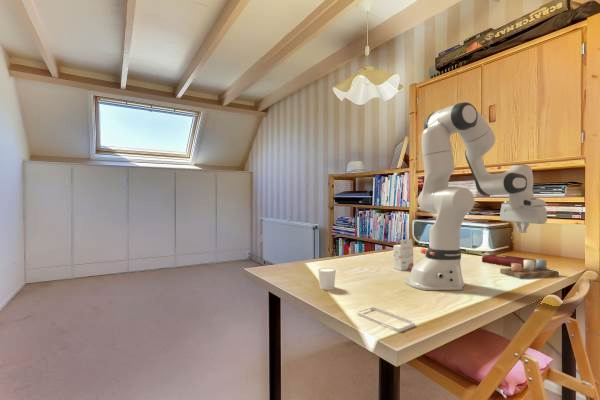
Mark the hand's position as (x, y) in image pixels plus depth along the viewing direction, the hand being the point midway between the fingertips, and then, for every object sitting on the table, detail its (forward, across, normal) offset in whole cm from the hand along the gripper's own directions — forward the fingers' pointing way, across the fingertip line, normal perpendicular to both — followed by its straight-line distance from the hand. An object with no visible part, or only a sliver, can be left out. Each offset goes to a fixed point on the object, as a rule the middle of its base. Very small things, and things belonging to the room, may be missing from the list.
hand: (521, 232), depth 134 cm
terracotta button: (+18, 0, -3) cm, 19 cm away
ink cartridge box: (+18, -22, -45) cm, 54 cm away
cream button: (+17, 0, +3) cm, 17 cm away
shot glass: (+18, +1, -90) cm, 92 cm away
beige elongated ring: (+18, +34, -82) cm, 91 cm away
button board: (+19, 0, +3) cm, 19 cm away
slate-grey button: (+17, 0, +10) cm, 20 cm away
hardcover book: (+20, -19, +12) cm, 30 cm away
